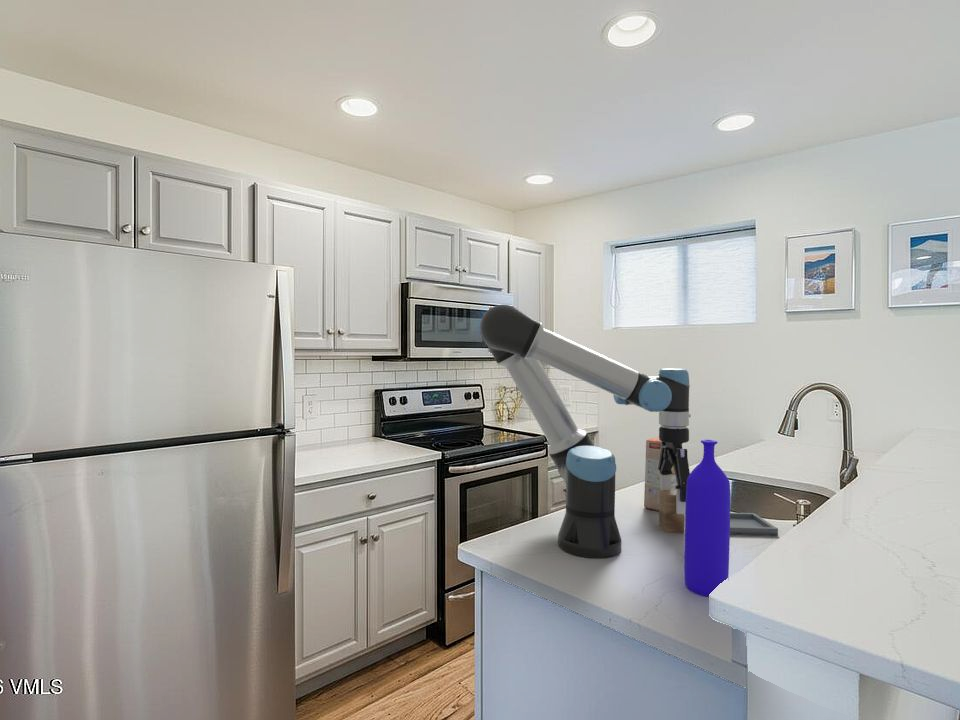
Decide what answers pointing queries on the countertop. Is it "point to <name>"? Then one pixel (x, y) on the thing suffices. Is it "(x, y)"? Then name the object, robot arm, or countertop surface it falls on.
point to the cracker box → (654, 475)
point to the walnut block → (670, 513)
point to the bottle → (707, 525)
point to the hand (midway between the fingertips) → (673, 505)
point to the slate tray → (750, 525)
